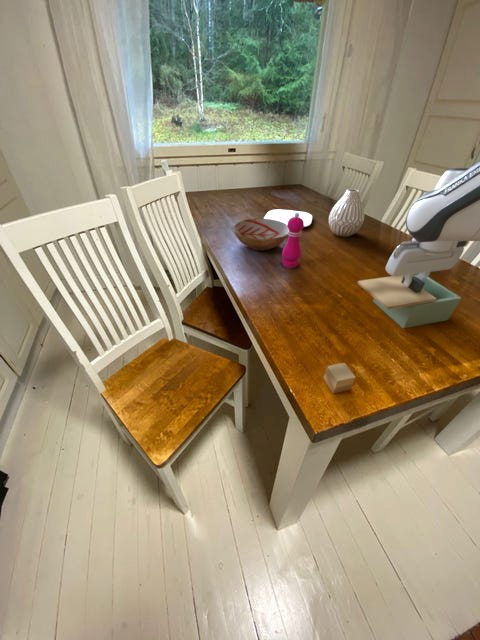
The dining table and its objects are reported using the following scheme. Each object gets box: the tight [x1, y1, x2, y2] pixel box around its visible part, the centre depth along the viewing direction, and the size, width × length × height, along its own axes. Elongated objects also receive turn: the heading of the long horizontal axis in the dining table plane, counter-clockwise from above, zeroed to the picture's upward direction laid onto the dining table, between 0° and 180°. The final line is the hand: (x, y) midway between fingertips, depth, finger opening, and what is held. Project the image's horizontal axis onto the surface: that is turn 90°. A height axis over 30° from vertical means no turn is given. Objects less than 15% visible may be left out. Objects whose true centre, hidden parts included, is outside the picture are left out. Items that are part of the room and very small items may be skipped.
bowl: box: [232, 217, 289, 252], centre depth 120 cm, size 25×25×8 cm
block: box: [323, 362, 356, 395], centre depth 61 cm, size 4×4×4 cm
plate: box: [263, 209, 313, 228], centre depth 148 cm, size 25×25×2 cm
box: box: [372, 274, 462, 329], centre depth 83 cm, size 14×16×8 cm
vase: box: [328, 188, 365, 238], centre depth 128 cm, size 16×16×20 cm
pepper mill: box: [281, 213, 305, 268], centre depth 103 cm, size 7×7×20 cm
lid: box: [357, 275, 437, 309], centre depth 77 cm, size 14×16×4 cm
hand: (411, 284), depth 78 cm, fingers closed on lid, 2 cm apart
